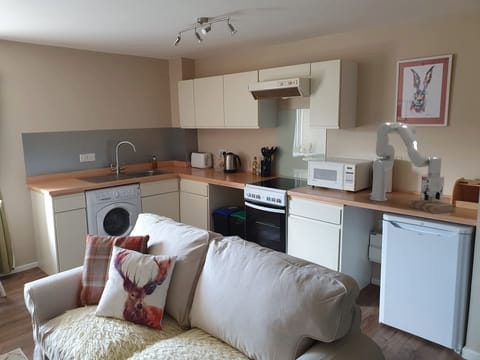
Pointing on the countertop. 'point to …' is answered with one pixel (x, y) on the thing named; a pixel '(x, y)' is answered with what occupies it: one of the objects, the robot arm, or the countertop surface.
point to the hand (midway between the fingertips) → (431, 199)
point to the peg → (431, 199)
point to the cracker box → (430, 192)
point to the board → (432, 206)
